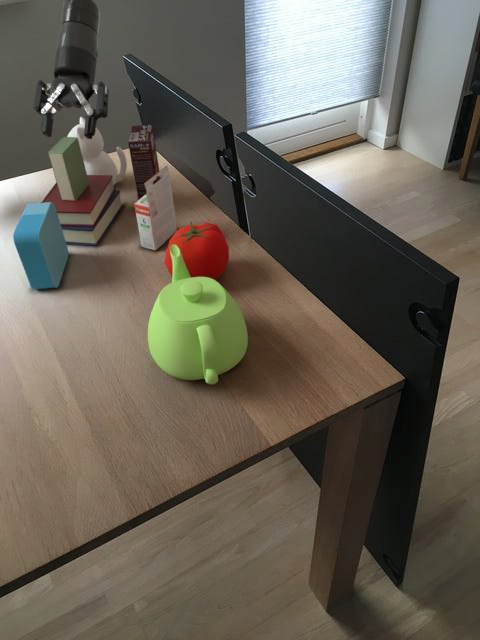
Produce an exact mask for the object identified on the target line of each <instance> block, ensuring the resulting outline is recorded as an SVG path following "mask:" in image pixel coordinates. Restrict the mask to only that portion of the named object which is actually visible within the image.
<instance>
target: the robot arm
mask: <svg viewBox="0 0 480 640" xmlns="http://www.w3.org/2000/svg"><path fill="white" fill-rule="evenodd" d="M61 2H62V12H61V19H60V28H59V32H58V35H57V43H56V50H55V57H54V58H55V60H54V68H53V76H54V77H53V80H52V82H51V83H48V82H44V81H43V79H41V80H40V79H39V80H38V81H37V82H36V89H35V93H34V98H33V99H34V100H33V105H32V109H33V110H34V111H35V112H36V113H37V114H38V115H40V116H41V122H40V132H42V135H44V137H46V138H51V137H52V134H53V126H54V119H53V118H54V117H55V116H56V115H57V114H58V112H61V111H62V110H63V109H64V108H66V109H71V108H75V109H82V107H83V109H84V110H85V112H86V114H87V115H85V118H84V119H85V128H84V136H85V137H86V138H87V139H92V136H94V135H95V130H96V128H97V121H98V120H99V119H101V118H104V119H105V118H108V113H109V94H110V89H109V88H108V87H107V85H106V84H105V83H104V82H103V81H98V83H95V84H94V82H95V80H96V79H95V77H96V69H97V59H98V56H99V55H98V53H99V33H100V32H99V30H100V25H101V24H100V22H101V10H100V7H99V6H98V4H97V3H96V2H95V1H94V0H61ZM51 92H52V93H51ZM94 93H95V95H96V108H95V107H94V106H93V104H92V102H91V101H90V98H92V96H93V95H94ZM56 102H57V103H56Z"/></svg>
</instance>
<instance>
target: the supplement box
mask: <svg viewBox="0 0 480 640" xmlns="http://www.w3.org/2000/svg"><path fill="white" fill-rule="evenodd" d="M130 130H131V131H130V135H129V138H128V143H127V145H128V149H129V155H130V161H131V162H130V163H131V166H132V167H131V168H132V172H133V177H134V183H135V190H136V196H137V201H138V200H139V199H141V198H142V197H143V196H144V195H146V189H145V184H144V183H145V182H146V181H148V180H149V179H150V178H151V177H153V176H154V175H155V174H156V173H158V172H159V171H160V166H159V159H158V152H157V144H156V137H155V130H154V125H153V124H139V125H132V126H131V128H130ZM159 179H161V175H160V176H157V178H156V180H154V181H153V184H154V183H156V182H157V181H158V180H159Z"/></svg>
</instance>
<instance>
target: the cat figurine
mask: <svg viewBox="0 0 480 640" xmlns="http://www.w3.org/2000/svg"><path fill="white" fill-rule="evenodd" d="M85 119H86V118H84V117H82V116H80V117H79V123H78V124H76V125H74V127H72V129H71V130H70V131H69V133H68V134H67V136H66V137H78V141H79V145H80V149H81V153H82V157H83V161H84V165H85V169H86V173H87V175H112V181H113V186H114V187H115V185H116V184H117V183H120V182H121V181H122V180H123V179H124V178H125V175H126V173H127V166H128V165H127V164H128V163H127V157H126V153H125V152H124V150H123V149H122V148H121V147H120V146H116V148H115V151H116V153H117V156H118V158H119V163H120V168H119V169H118V166H117V164H116V162H115V161H114V160H113V158H112V157H111V156H110V154H108V153H107V152H106V151H105V150H104V146H105V144H104V138H103V135H102V133H101V132H100V130H99V128H97V127H96V130H95V135H94V136H92V139H87V138H86V137H85V136H84V128H85Z"/></svg>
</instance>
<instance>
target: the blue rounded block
mask: <svg viewBox="0 0 480 640" xmlns="http://www.w3.org/2000/svg"><path fill="white" fill-rule="evenodd" d="M12 237H13V244H14V246H15V250H16V253H17V254H18V257H19V259H20V262H21V265H22V268H23V270H24V273H25V275H26V278H27V281H28V283H29V286H30V288H31V289H32V290H42V289H53V288H54V289H56V288H58V287H59V286H60V283H61V280H62V278H63V275H64V274H63V273H64V271H65V268H66V265H67V261H68V258H69V249H68V244H66V241H65V237H64V234H63V231H62V228H61V224H60V221H59V218H58V214H57V211H56V208H55V205H54V204H53V203H52V202H47V203H41V202H32V203H31V202H30V203H27V204H26V206H25V208H24V210H23V212H22V215H21V216H20V218H19V221H18V222H17V224H16V227H15V229H14V232H13V236H12Z"/></svg>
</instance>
